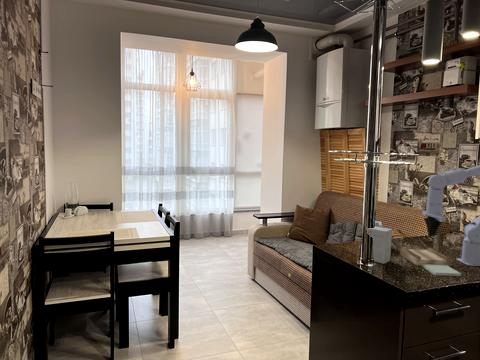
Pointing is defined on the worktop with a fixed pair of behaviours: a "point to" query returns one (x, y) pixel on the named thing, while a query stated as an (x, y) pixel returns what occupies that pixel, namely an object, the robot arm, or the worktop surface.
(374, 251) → the small box
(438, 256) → the wooden box
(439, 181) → the robot arm
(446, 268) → the cover plate
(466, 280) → the worktop surface
